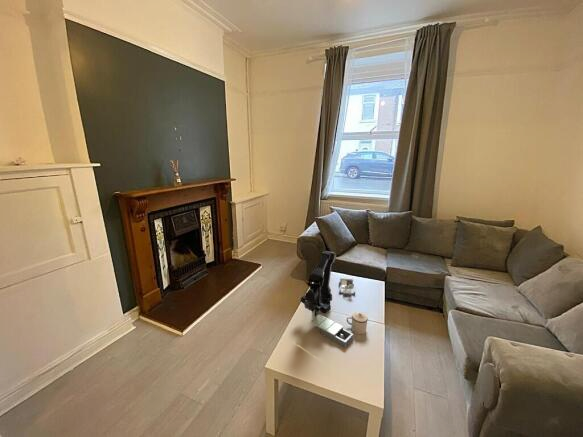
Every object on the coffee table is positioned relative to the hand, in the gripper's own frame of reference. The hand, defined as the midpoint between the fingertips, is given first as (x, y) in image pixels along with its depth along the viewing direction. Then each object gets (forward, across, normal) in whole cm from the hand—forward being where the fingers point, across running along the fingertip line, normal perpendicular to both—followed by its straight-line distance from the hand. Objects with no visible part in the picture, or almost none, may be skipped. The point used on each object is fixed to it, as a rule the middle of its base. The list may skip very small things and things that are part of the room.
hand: (314, 315), depth 150 cm
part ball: (+6, +19, 0) cm, 20 cm away
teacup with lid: (+6, +21, +14) cm, 26 cm away
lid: (+2, +8, 0) cm, 8 cm away
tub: (+6, +16, 0) cm, 17 cm away
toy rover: (+7, -5, +49) cm, 50 cm away
